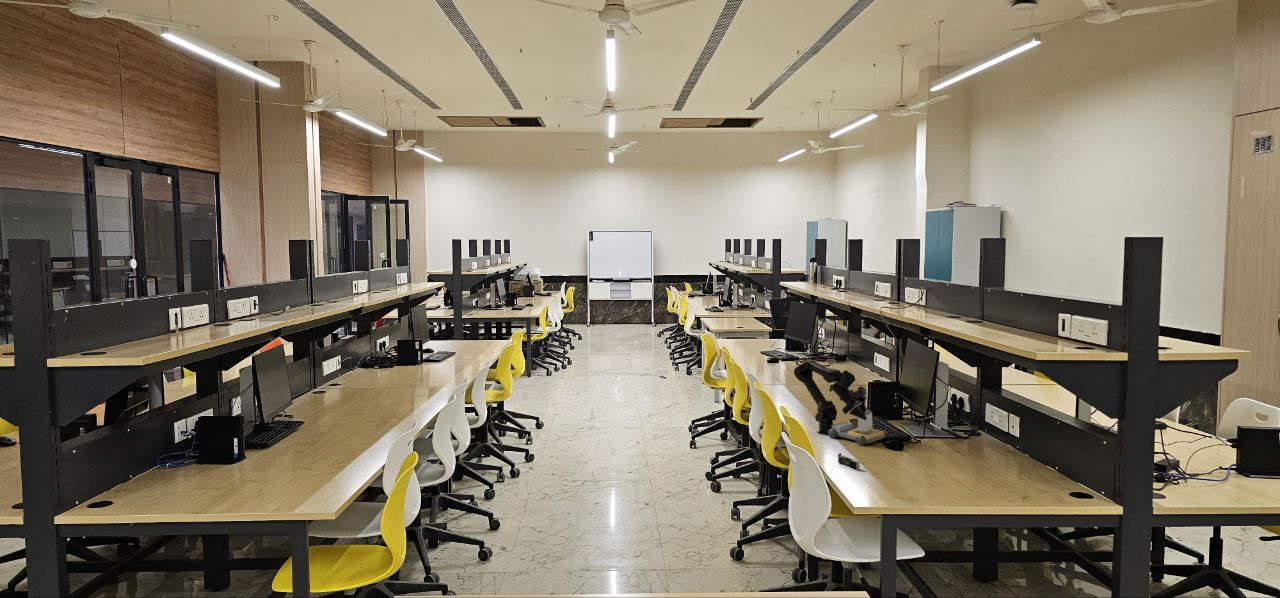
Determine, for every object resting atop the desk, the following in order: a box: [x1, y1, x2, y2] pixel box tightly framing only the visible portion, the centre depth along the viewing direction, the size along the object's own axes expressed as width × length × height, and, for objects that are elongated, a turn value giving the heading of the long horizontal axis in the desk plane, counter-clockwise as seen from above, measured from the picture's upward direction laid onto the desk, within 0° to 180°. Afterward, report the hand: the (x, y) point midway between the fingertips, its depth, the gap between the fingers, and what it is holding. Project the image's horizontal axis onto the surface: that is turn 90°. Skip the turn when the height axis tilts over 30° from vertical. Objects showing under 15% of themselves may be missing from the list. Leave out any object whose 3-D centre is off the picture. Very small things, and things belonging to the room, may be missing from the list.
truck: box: [827, 421, 887, 447], centre depth 332 cm, size 23×15×6 cm, turn 33°
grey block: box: [857, 409, 873, 434], centre depth 327 cm, size 5×5×10 cm
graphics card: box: [837, 452, 861, 471], centre depth 292 cm, size 12×3×5 cm, turn 24°
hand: (867, 418), depth 326 cm, fingers closed on grey block, 5 cm apart
